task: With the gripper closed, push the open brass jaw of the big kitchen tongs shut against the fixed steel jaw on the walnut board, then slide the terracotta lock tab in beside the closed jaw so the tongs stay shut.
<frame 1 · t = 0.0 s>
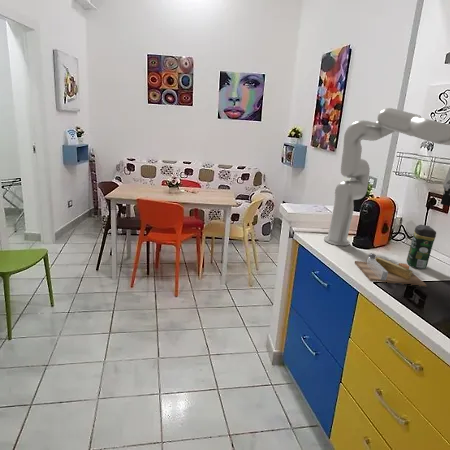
hand: (449, 204, 138), 31 cm above the worktop, tool pointing down, fingers open, 9 cm apart
board: (388, 274, 144), on the worktop
tongs base: (369, 266, 151), resting on board
coffee jar: (415, 265, 159), on the worktop
tong jaw: (392, 268, 144), point 3 cm above the worktop, hinge at 35.0°
lock tab: (403, 268, 145), point 3 cm above the worktop, slide at 0.0 cm
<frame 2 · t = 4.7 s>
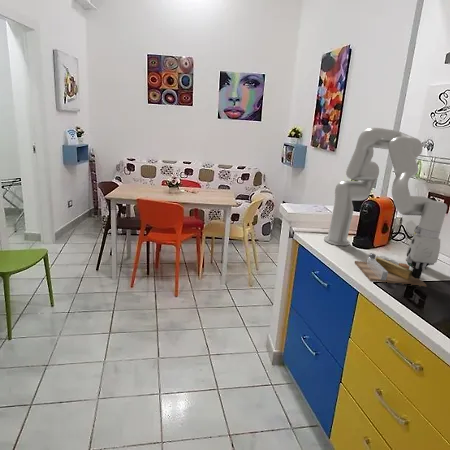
hand: (415, 277, 139), 2 cm above the worktop, tool pointing down, fingers closed
tong jaw: (392, 268, 144), point 3 cm above the worktop, hinge at 34.6°, touching gripper
everything else where it was.
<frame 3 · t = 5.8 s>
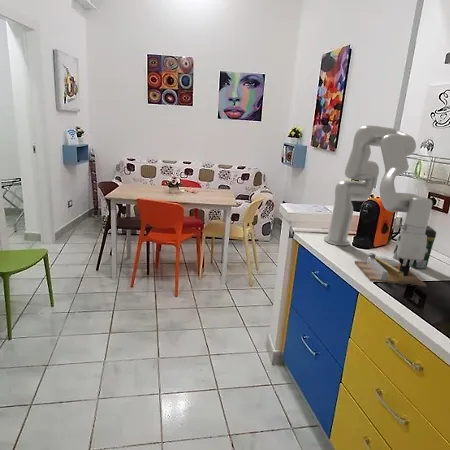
hand: (403, 274, 138), 3 cm above the worktop, tool pointing down, fingers closed
tong jaw: (387, 269, 142), point 3 cm above the worktop, hinge at 14.9°, touching gripper
everything else where it was.
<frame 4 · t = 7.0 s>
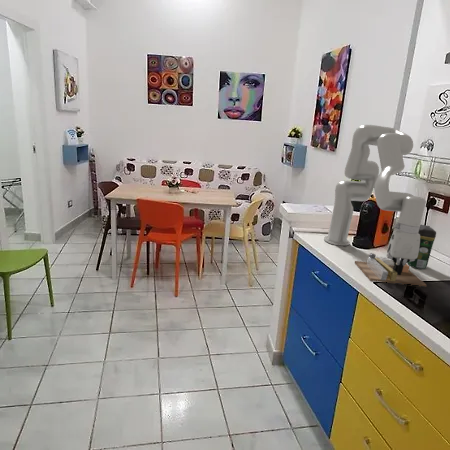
hand: (396, 273, 138), 3 cm above the worktop, tool pointing down, fingers closed
tong jaw: (384, 269, 142), point 3 cm above the worktop, hinge at 4.6°, touching gripper
everything else where it was.
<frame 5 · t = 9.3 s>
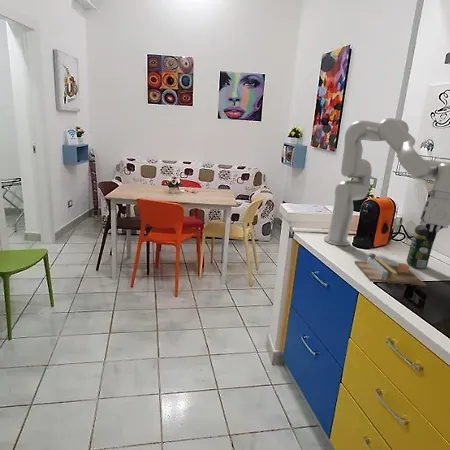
hand: (429, 240, 141), 16 cm above the worktop, tool pointing down, fingers closed
tong jaw: (384, 269, 142), point 3 cm above the worktop, hinge at 4.5°
everything else where it was.
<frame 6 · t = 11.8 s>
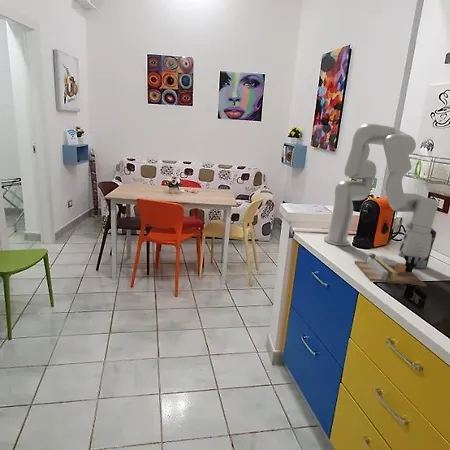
hand: (407, 270, 145), 2 cm above the worktop, tool pointing down, fingers closed
lock tab: (399, 268, 145), point 3 cm above the worktop, slide at 1.4 cm, touching gripper
everything else where it was.
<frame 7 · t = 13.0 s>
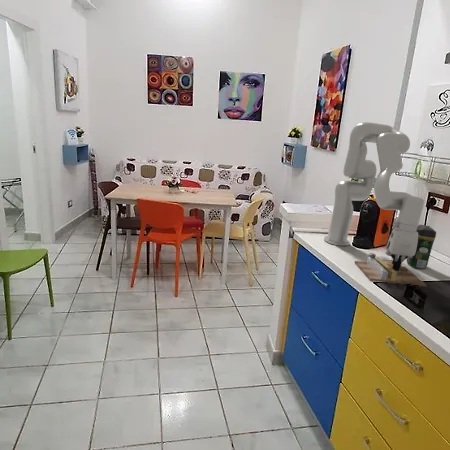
hand: (395, 269, 145), 2 cm above the worktop, tool pointing down, fingers closed
tong jaw: (384, 269, 142), point 3 cm above the worktop, hinge at 4.5°, touching lock tab
lock tab: (387, 266, 145), point 3 cm above the worktop, slide at 6.7 cm, touching gripper, tong jaw
everything else where it was.
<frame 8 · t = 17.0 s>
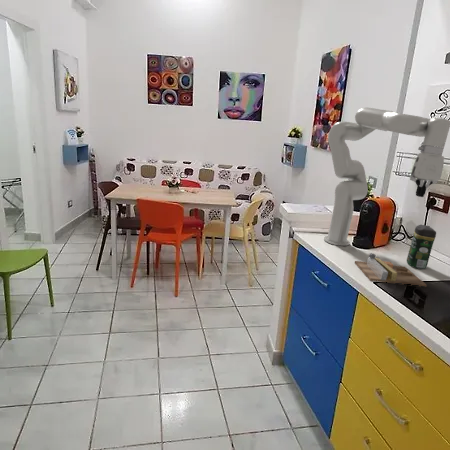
hand: (419, 196, 144), 32 cm above the worktop, tool pointing down, fingers closed
lock tab: (387, 266, 145), point 3 cm above the worktop, slide at 6.7 cm, touching tong jaw
everything else where it was.
at the end: tong jaw at +4° (first picture: +35°); lock tab slide at 6.7 cm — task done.
